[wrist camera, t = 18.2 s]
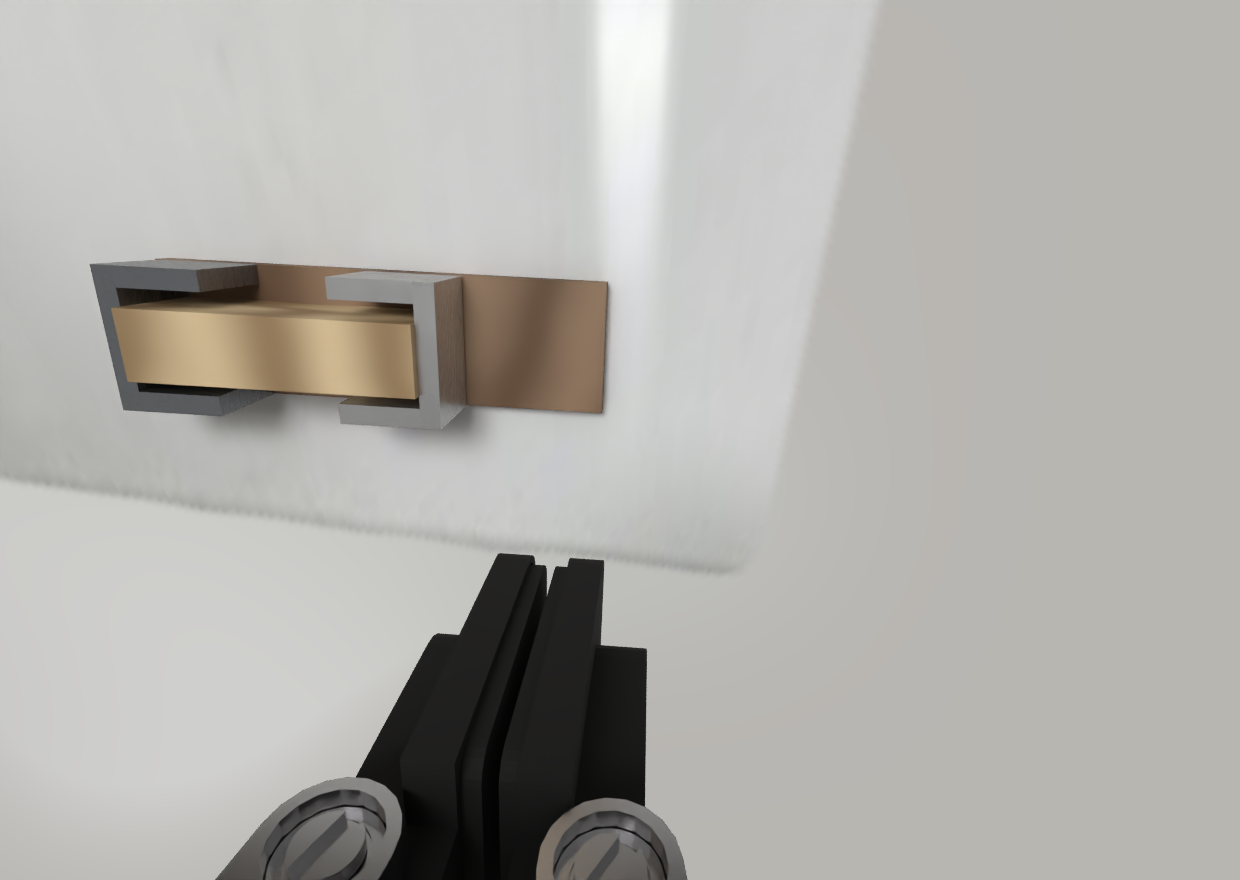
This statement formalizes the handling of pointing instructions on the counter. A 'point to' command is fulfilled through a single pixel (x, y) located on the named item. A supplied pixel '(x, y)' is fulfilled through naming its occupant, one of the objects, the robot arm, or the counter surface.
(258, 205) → the counter surface
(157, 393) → the grey end holder
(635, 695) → the robot arm
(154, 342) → the slat
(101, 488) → the counter surface
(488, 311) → the base board
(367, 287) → the bracket
